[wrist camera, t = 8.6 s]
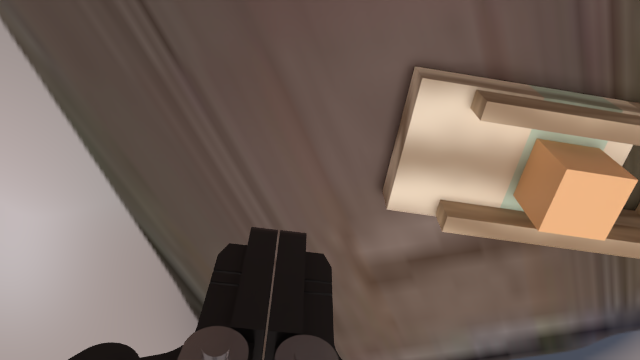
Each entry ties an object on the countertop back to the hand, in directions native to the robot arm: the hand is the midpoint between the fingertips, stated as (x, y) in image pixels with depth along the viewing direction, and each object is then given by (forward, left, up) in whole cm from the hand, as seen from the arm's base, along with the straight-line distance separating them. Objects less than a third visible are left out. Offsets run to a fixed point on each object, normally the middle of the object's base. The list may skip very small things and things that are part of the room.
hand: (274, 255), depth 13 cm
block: (+6, +21, -22) cm, 31 cm away
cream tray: (+6, +20, -25) cm, 33 cm away
